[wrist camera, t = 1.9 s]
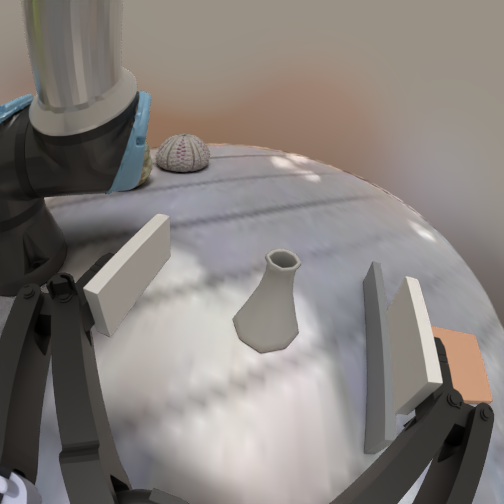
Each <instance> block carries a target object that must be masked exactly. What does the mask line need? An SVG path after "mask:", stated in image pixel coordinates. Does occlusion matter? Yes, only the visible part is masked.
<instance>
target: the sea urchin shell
mask: <svg viewBox="0 0 504 504" xmlns="http://www.w3.org/2000/svg"><path fill="white" fill-rule="evenodd" d="M209 152H210V151H209V149H208V148H207V146H206V144H205V143H204V142H203V141H202V140H201V139H199V138H198V137H196V136H194V135H190V134H178V135H174V136H171V137H169V138H168V139H167V140H166V141H165V142H163V144H162V145H161V146H160V148H159V150H158V152H157V155H156V160H157V161H156V162H157V163H158V165H160V167H162V168H164V169H166V170H172V171H175V172H176V171H177V172H179V171H180V172H188V171H191V172H192V171H196V170H198V169H199V170H200V169H201V168H203V167H204V166H206V164H208V161H209V157H210V156H209V155H210V153H209Z"/></svg>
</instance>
